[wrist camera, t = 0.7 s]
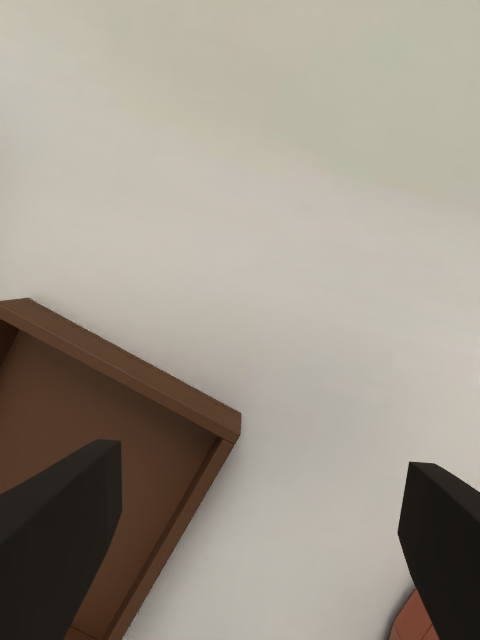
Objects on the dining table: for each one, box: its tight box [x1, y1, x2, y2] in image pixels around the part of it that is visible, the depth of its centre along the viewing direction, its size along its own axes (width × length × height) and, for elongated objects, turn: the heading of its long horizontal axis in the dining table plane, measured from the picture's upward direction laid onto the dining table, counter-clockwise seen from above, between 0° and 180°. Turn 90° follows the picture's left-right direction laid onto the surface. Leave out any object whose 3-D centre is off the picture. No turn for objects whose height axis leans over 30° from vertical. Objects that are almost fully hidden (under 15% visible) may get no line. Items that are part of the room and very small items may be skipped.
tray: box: [0, 298, 241, 640], centre depth 19 cm, size 15×12×3 cm
